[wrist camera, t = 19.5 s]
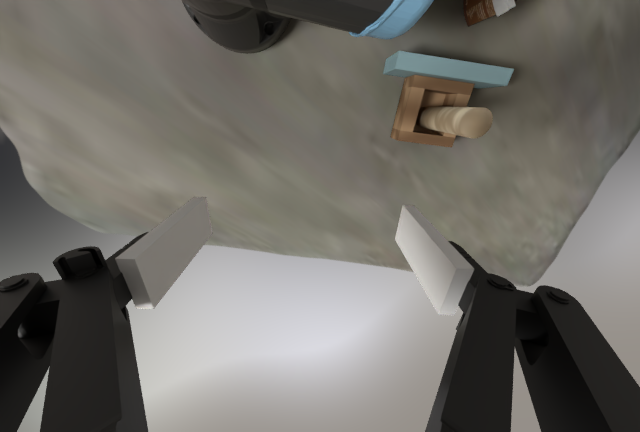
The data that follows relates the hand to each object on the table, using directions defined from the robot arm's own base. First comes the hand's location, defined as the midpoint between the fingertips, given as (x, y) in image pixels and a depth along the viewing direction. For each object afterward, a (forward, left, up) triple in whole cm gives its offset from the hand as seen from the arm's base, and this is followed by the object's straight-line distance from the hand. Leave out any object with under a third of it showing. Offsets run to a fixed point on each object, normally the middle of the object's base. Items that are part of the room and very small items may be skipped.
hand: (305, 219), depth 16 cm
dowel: (-7, +18, -27) cm, 33 cm away
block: (-8, +18, -28) cm, 34 cm away
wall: (-14, +18, -28) cm, 36 cm away
